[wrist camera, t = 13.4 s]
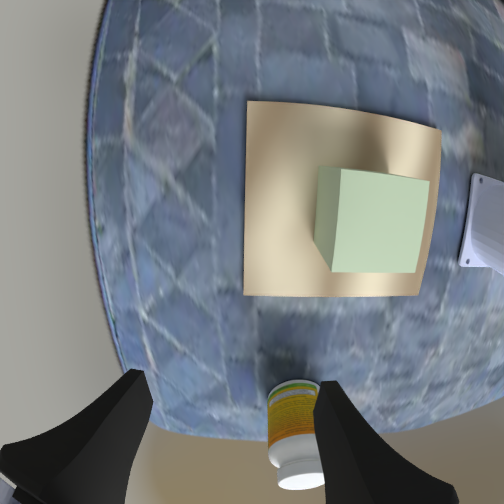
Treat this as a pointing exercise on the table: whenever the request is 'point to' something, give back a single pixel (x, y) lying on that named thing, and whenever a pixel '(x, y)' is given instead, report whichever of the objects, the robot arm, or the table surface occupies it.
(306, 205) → the wooden board
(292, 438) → the supplement bottle
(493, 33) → the table surface
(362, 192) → the sage cube
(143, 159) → the table surface
